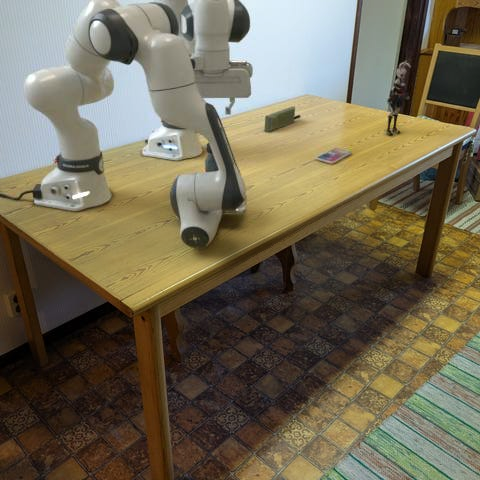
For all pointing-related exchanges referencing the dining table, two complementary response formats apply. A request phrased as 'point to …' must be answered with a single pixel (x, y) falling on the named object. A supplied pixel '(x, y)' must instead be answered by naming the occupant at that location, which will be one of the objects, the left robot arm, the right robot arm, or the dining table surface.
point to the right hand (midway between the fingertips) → (213, 114)
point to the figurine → (397, 97)
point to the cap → (209, 149)
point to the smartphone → (333, 155)
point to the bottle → (210, 163)
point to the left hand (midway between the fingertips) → (214, 189)
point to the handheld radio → (280, 119)
